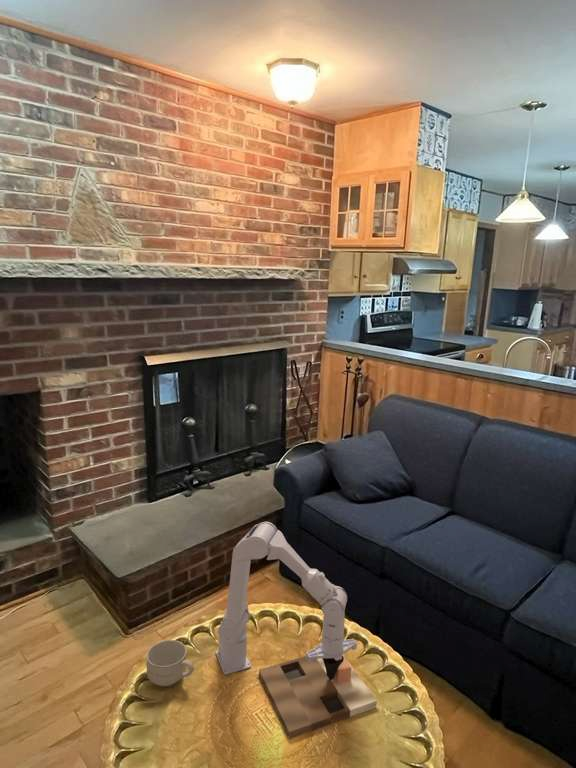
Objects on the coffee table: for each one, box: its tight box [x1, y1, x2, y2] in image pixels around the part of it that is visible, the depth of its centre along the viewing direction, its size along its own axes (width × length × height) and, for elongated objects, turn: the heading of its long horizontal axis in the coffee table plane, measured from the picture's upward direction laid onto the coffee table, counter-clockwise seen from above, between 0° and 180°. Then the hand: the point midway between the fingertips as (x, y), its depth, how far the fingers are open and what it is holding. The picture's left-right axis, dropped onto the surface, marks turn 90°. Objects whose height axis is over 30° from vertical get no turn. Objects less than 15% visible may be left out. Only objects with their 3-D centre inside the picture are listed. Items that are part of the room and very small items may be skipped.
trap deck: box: [258, 654, 378, 740], centre depth 133 cm, size 21×25×2 cm
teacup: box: [145, 639, 195, 687], centre depth 134 cm, size 14×11×8 cm
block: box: [334, 657, 352, 684], centre depth 135 cm, size 4×4×4 cm
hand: (330, 676), depth 134 cm, fingers closed
